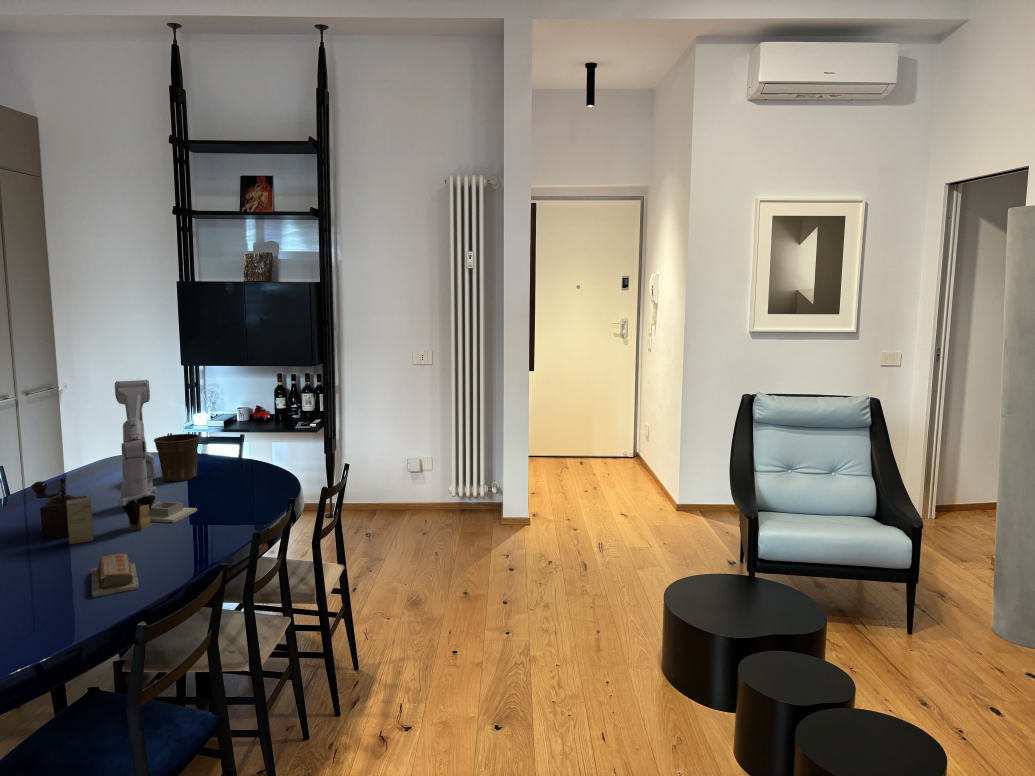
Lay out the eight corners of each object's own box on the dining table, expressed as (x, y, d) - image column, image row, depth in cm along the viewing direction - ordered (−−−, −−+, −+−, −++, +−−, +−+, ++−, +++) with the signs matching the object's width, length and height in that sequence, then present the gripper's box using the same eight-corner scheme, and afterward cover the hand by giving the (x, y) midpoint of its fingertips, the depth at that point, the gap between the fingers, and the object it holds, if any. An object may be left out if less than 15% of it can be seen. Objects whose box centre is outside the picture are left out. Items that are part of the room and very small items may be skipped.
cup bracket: (133, 520, 225) (132, 505, 225) (159, 508, 237) (158, 494, 236) (173, 522, 223) (172, 507, 222) (197, 511, 235) (196, 496, 234)
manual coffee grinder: (48, 528, 218) (43, 471, 216) (89, 524, 222) (84, 468, 220) (34, 544, 204) (28, 484, 201) (78, 540, 208) (73, 480, 205)
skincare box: (69, 544, 204) (65, 503, 202) (69, 540, 208) (65, 500, 206) (94, 540, 207) (91, 500, 205) (94, 536, 211) (90, 496, 209)
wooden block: (129, 529, 217) (128, 507, 216) (139, 525, 221) (137, 503, 220) (141, 530, 216) (139, 508, 215) (150, 526, 220) (148, 504, 219)
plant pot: (149, 478, 276) (146, 437, 274) (191, 470, 288) (188, 431, 286) (167, 486, 265) (164, 443, 263) (209, 477, 277) (207, 437, 275)
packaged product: (90, 556, 183) (133, 548, 188) (91, 574, 184) (135, 566, 189) (90, 580, 168) (137, 571, 173) (92, 599, 169) (139, 590, 174)
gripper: (131, 485, 208) (134, 530, 210) (164, 473, 223) (167, 515, 224) (110, 484, 210) (113, 528, 212) (144, 472, 224) (147, 513, 226)
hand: (139, 521), depth 218 cm, fingers closed on wooden block, 4 cm apart
